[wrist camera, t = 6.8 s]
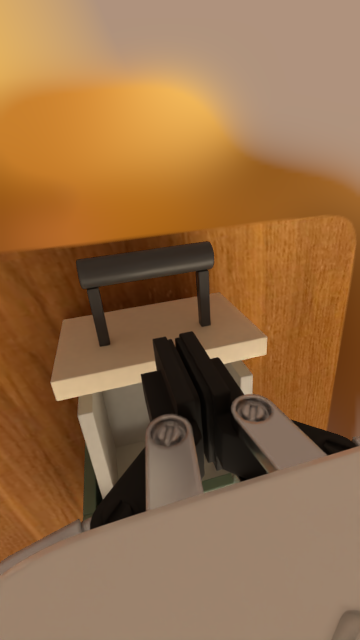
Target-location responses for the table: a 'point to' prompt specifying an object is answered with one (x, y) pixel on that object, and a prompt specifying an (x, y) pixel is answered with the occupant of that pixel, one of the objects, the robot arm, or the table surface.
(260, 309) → the table surface
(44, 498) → the table surface
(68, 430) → the table surface
